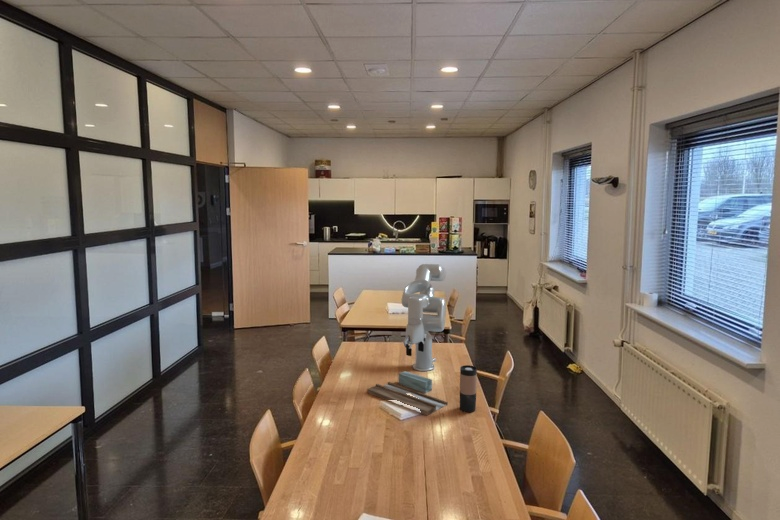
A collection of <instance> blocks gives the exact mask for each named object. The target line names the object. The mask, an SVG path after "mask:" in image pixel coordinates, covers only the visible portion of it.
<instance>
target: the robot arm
mask: <svg viewBox="0 0 780 520" xmlns="http://www.w3.org/2000/svg"><path fill="white" fill-rule="evenodd" d="M415 271H416V272H415V274H416V275H415V278H414V280H413V281H411V282H410V283H408V284H407V285H406V286H405V288H404V289H403V292H402V295H401V305H402V306H403V307H404V308H406V309H407V324H406V327H405V337H404V340H402V343H403V345H404V347H405V355H406V356H408V357H412V355H413V352H412V351H413V349H412V347H413V345H415V352H414V353H415V360H414V361H415V362H414V364H412V369H413V370H415V371H421V372H428V371H429V372H430V371H432V370H435V364H433V363H434V362H436V361H437V358H436V357H434V358H433V337H432V335H431V334H430V332H435V333H436V332H437V333H438V332H439V333H440V332H443V331H444V329H445V325H446V312H447V303H446V302H447V301H446V300H445V298H444V297H441V296H435V288H434V287H433V285H432V284H431V282H443V281H445V279H446V274H447V271H446V269H445V267H444V266H443V265H441V264H433V263H423V264H420V265H419V266H418V267H417V268H416V270H415Z"/></svg>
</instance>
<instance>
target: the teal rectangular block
mask: <svg viewBox="0 0 780 520" xmlns="http://www.w3.org/2000/svg"><path fill="white" fill-rule="evenodd" d="M398 385H399V386H402V385H403V386H402V387H405V386H406V387H405V388H408V389H411V390H414V391H417V392H420V393H422V394H428V393H429V392H432V389H433V388H432V387H433V379H431V378H427V377H424V376H421V375H418V374H415V373H412V372H409V371H406V370H405V371H402V372H400V373H398Z"/></svg>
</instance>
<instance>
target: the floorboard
mask: <svg viewBox="0 0 780 520" xmlns="http://www.w3.org/2000/svg"><path fill="white" fill-rule="evenodd" d="M366 391H367V392H366V393H367V394H369V395H372V396H374V397H377V398H380V399H383V400H385V401H387V400H397V401H400V402H402V403H404V404H407V405H410V406H413V407H416V408H418V409H420V411H421V413H420V414H422V415H425V416H429V415H431V414H433V413H435V412H437V411H439V410H440V409H442V408H444V407H446V406H448V401H445V400H442V399H440V398H436V397H434V396H431V395H428V394H426V393H423V392H420V391H417V390H414V389H411V388H408V387H405V386H402V385H400V384H396V383H393V382H391V381H387V384H384V385H382V384H379V383H375V385H374V386H371V387H370V388H367V390H366ZM406 393H411V394H412V395H414V396H416V397H417V398H416V397H413V396H410V395H407V394H406ZM418 398H419V399H418Z"/></svg>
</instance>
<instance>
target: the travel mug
mask: <svg viewBox="0 0 780 520" xmlns="http://www.w3.org/2000/svg"><path fill="white" fill-rule="evenodd" d="M459 369H460V370H459V371H460V372H459V374H460V375H459V410H460V412H463V413H467V414H468V413H469V414H471V413H475V412H476V409H477V408H476V403H477V388H478V387H477V383H478V381H477V380H478V379H477V377H478V374H477V373H478V372H477V371H478V368H477V367H476V366H473V365H466V364H465V365H462V366H460V367H459Z"/></svg>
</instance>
